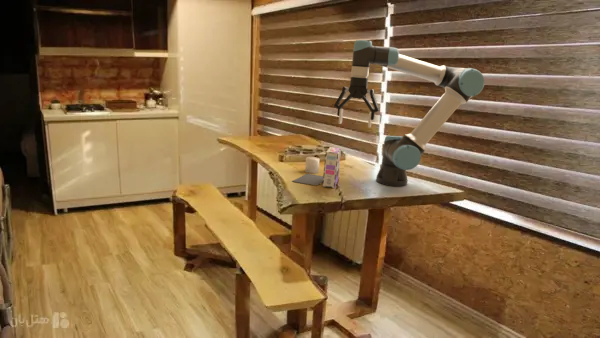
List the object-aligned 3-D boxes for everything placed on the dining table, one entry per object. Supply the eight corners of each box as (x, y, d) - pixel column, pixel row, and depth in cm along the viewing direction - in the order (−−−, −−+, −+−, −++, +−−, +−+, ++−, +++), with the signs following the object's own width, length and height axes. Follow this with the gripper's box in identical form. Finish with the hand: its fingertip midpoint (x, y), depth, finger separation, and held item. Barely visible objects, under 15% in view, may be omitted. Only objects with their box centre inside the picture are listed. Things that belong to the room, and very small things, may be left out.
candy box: (334, 188, 209) (338, 152, 205) (321, 186, 210) (325, 151, 206) (338, 181, 222) (341, 147, 218) (326, 179, 223) (329, 146, 219)
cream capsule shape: (320, 171, 239) (321, 158, 238) (315, 174, 233) (316, 160, 231) (307, 169, 242) (309, 156, 240) (302, 171, 235) (303, 158, 234)
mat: (329, 178, 227) (329, 177, 226) (316, 186, 210) (316, 185, 210) (306, 174, 231) (306, 173, 231) (292, 181, 215) (292, 181, 214)
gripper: (389, 79, 200) (384, 127, 205) (335, 74, 210) (331, 121, 215) (385, 79, 194) (379, 129, 199) (329, 74, 203) (325, 122, 208)
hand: (354, 125), depth 207 cm, fingers open, 13 cm apart
